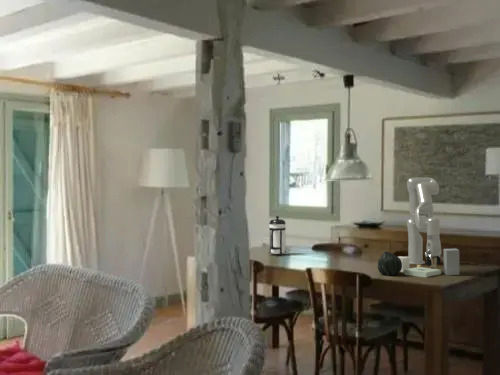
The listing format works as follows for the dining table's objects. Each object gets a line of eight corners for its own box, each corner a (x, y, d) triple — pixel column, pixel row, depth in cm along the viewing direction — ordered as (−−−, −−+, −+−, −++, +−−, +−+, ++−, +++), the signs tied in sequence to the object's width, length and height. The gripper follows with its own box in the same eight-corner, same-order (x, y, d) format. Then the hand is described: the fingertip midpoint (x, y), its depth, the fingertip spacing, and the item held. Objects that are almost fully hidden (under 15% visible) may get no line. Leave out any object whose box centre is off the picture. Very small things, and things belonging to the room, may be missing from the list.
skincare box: (456, 273, 394) (456, 248, 393) (460, 275, 387) (460, 249, 386) (442, 273, 394) (442, 248, 393) (446, 275, 386) (446, 249, 386)
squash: (410, 265, 391) (395, 246, 397) (398, 269, 380) (383, 249, 386) (395, 279, 398) (380, 260, 404) (383, 283, 387) (368, 263, 393)
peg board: (403, 274, 391) (403, 269, 391) (418, 271, 402) (418, 266, 402) (426, 277, 379) (426, 272, 379) (441, 274, 390) (441, 269, 390)
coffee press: (264, 254, 492) (263, 215, 491) (283, 253, 497) (283, 215, 496) (271, 256, 475) (271, 217, 475) (291, 256, 480) (291, 216, 479)
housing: (393, 271, 404) (393, 257, 403) (400, 270, 408) (400, 256, 408) (403, 272, 398) (403, 258, 398) (409, 271, 403) (409, 257, 403)
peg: (428, 272, 399) (428, 256, 398) (432, 271, 401) (432, 255, 401) (434, 273, 396) (434, 257, 395) (437, 272, 398) (437, 256, 398)
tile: (409, 270, 408) (409, 264, 408) (417, 268, 414) (417, 263, 414) (421, 271, 401) (421, 266, 401) (429, 270, 407) (429, 265, 407)
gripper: (430, 239, 389) (430, 266, 389) (446, 237, 401) (446, 264, 401) (420, 238, 395) (420, 265, 395) (435, 236, 406) (435, 263, 406)
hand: (433, 265), depth 398 cm, fingers open, 9 cm apart
